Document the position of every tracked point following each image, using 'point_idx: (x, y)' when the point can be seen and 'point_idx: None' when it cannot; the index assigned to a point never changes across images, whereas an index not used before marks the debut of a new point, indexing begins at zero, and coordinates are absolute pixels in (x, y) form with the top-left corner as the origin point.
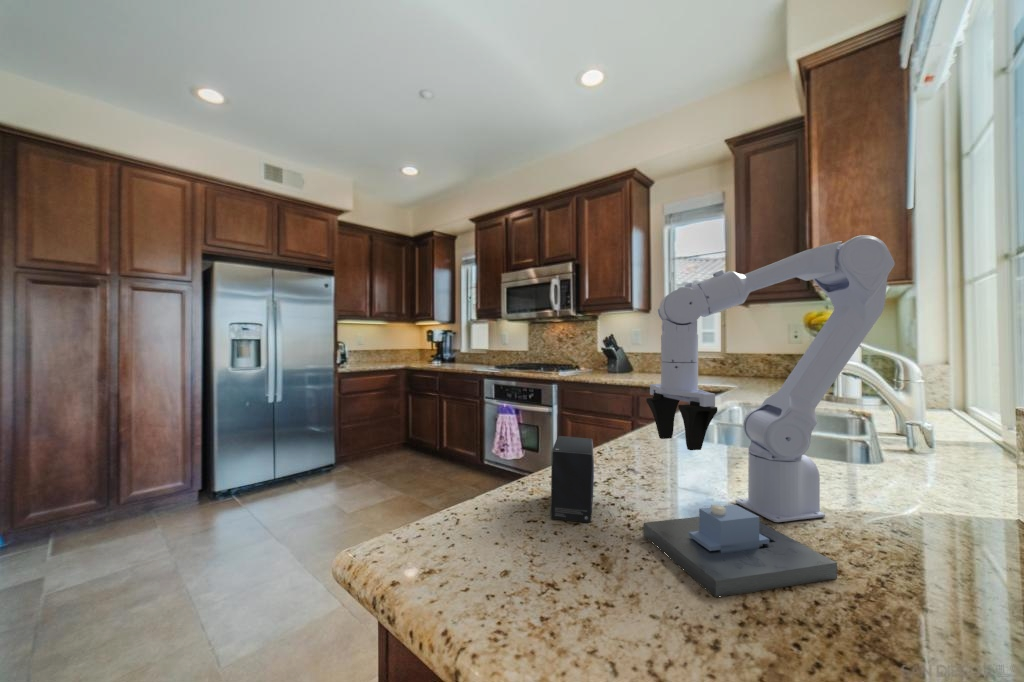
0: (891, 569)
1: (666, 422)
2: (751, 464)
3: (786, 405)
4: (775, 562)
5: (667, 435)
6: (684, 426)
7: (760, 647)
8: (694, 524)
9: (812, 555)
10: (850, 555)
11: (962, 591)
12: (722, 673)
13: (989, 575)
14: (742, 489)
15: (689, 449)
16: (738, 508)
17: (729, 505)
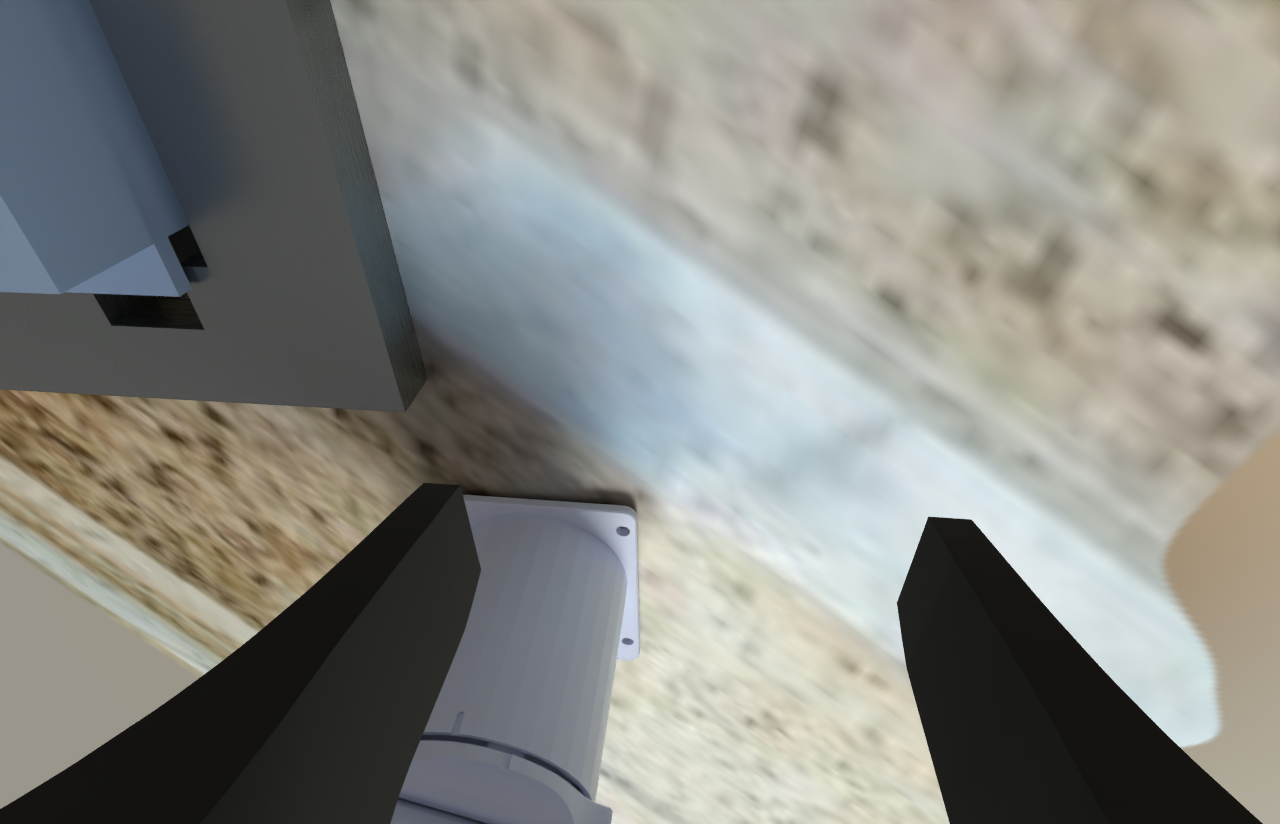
0: (158, 522)
1: (977, 750)
2: (504, 686)
3: None
4: None
5: (919, 599)
6: (307, 677)
7: None
8: (220, 71)
9: (28, 359)
10: (220, 503)
11: (86, 554)
12: None
13: (183, 645)
14: (760, 617)
15: (428, 487)
16: (1, 269)
17: (31, 251)
